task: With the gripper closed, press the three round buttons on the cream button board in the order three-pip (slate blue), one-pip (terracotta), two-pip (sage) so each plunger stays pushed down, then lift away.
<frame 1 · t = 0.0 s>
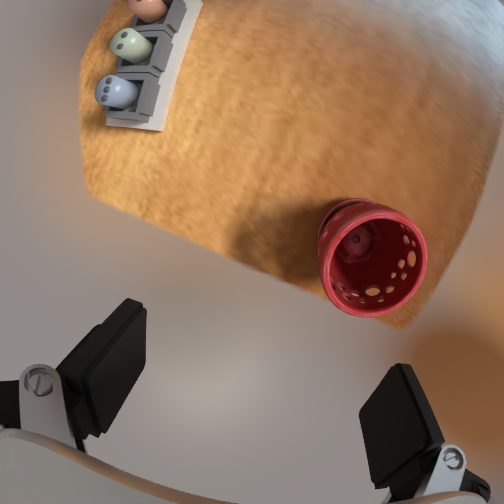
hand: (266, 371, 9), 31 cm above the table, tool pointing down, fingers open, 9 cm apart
button board: (153, 60, 32), on the table
button three pip: (116, 92, 28), point 7 cm above the table, slide at 0.0 cm
plant pot: (353, 237, 39), on the table
button one pip: (147, 6, 23), point 7 cm above the table, slide at 0.0 cm
button two pip: (131, 46, 25), point 7 cm above the table, slide at 0.0 cm
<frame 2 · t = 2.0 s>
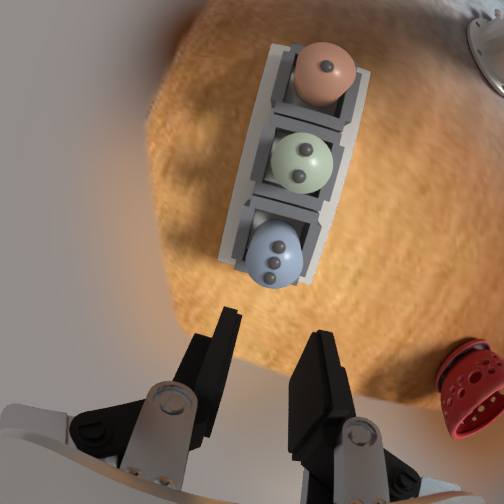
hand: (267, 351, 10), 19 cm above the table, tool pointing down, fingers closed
button board: (294, 161, 26), on the table
button three pip: (275, 251, 21), point 7 cm above the table, slide at 0.0 cm
plant pot: (458, 363, 32), on the table
button one pip: (321, 76, 17), point 7 cm above the table, slide at 0.0 cm
button two pip: (299, 162, 19), point 7 cm above the table, slide at 0.0 cm
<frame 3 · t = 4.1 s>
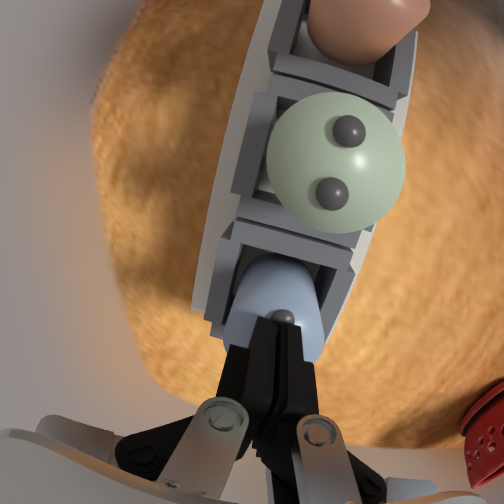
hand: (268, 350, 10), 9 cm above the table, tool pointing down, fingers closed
button board: (307, 159, 16), on the table
button three pip: (275, 311, 13), point 6 cm above the table, slide at 1.1 cm, touching gripper
plant pot: (486, 404, 23), on the table
button one pip: (360, 8, 7), point 7 cm above the table, slide at 0.0 cm
button two pip: (326, 161, 9), point 7 cm above the table, slide at 0.0 cm
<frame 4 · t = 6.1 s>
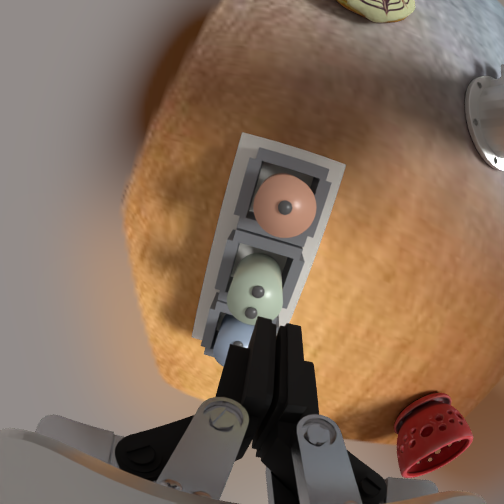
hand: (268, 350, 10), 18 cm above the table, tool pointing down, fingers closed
button board: (260, 256, 29), on the table
button three pip: (238, 339, 26), point 5 cm above the table, slide at 2.1 cm
plant pot: (419, 410, 36), on the table
button one pip: (283, 202, 19), point 7 cm above the table, slide at 0.0 cm
button two pip: (256, 287, 22), point 7 cm above the table, slide at 0.0 cm
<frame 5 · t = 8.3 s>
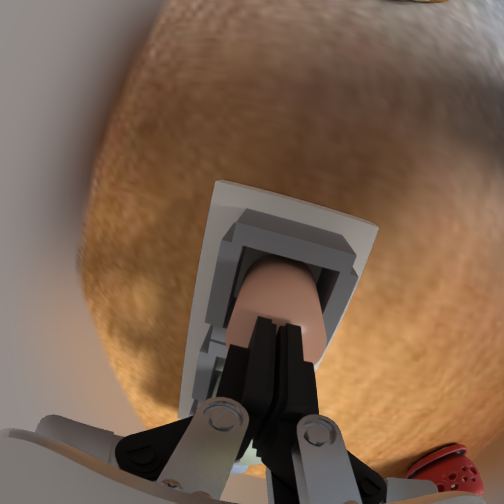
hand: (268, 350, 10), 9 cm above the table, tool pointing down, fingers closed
button board: (254, 344, 21), on the table
button three pip: (226, 441, 18), point 5 cm above the table, slide at 2.1 cm
plant pot: (433, 459, 27), on the table
button one pip: (277, 312, 13), point 6 cm above the table, slide at 1.4 cm, touching gripper
button two pip: (241, 418, 14), point 7 cm above the table, slide at 0.0 cm
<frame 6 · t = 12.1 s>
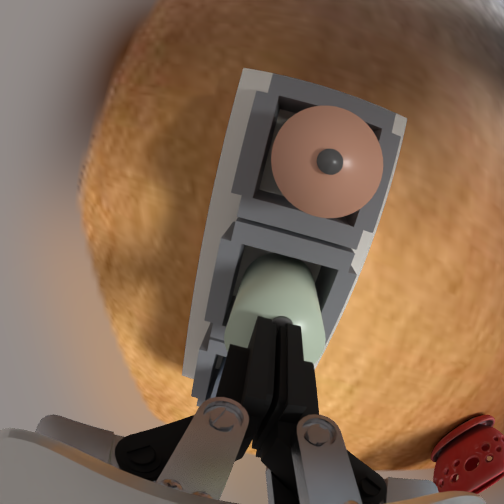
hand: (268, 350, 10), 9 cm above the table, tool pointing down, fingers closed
button board: (279, 263, 18), on the table
button three pip: (245, 391, 16), point 5 cm above the table, slide at 2.1 cm
plant pot: (458, 434, 25), on the table
button one pip: (320, 160, 11), point 5 cm above the table, slide at 2.1 cm
button two pip: (276, 311, 13), point 6 cm above the table, slide at 1.2 cm, touching gripper
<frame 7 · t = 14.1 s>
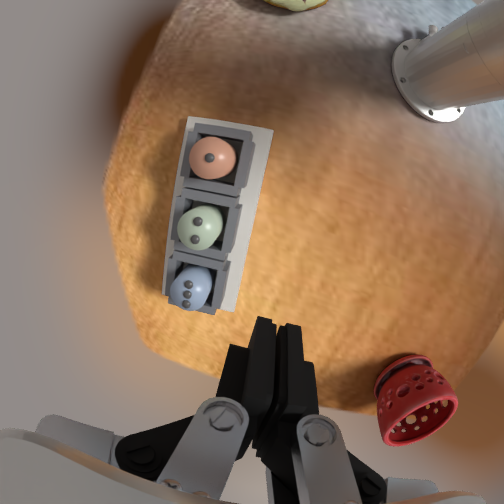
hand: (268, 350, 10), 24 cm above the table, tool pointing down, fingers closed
button board: (212, 216, 33), on the table
button three pip: (193, 284, 30), point 5 cm above the table, slide at 2.1 cm
plant pot: (400, 376, 40), on the table
button one pip: (215, 158, 26), point 5 cm above the table, slide at 2.1 cm
button two pip: (202, 225, 28), point 5 cm above the table, slide at 2.1 cm
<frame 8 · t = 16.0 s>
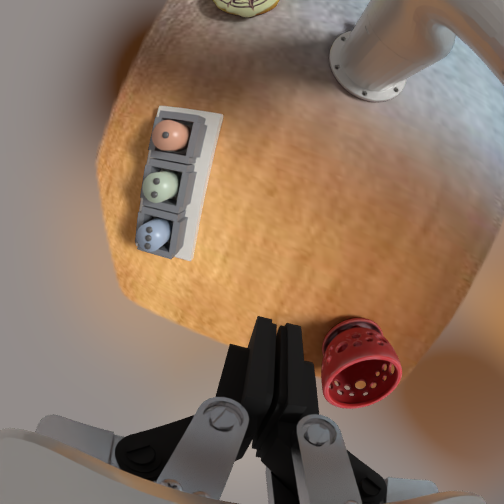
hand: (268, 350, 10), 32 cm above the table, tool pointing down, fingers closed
button board: (176, 182, 41), on the table
button three pip: (155, 233, 38), point 5 cm above the table, slide at 2.1 cm
plant pot: (350, 340, 47), on the table
button one pip: (172, 136, 33), point 5 cm above the table, slide at 2.1 cm
button two pip: (162, 185, 36), point 5 cm above the table, slide at 2.1 cm
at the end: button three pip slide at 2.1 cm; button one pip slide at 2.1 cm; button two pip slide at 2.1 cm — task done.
